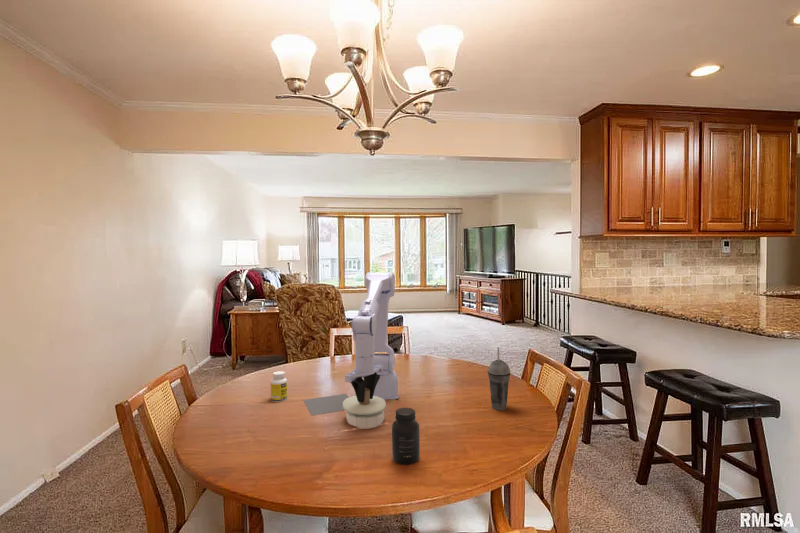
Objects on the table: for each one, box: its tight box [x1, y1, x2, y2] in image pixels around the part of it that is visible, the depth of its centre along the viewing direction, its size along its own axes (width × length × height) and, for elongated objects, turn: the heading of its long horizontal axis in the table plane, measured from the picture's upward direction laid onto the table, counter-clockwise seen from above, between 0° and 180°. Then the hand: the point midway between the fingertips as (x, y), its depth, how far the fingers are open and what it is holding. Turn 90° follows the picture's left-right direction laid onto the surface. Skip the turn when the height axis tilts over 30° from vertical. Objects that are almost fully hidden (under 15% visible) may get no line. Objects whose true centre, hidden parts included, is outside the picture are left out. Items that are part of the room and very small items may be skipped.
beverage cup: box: [487, 347, 512, 411], centre depth 133 cm, size 7×7×20 cm
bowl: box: [346, 409, 385, 430], centre depth 124 cm, size 11×11×3 cm
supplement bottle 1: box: [270, 370, 288, 403], centre depth 142 cm, size 5×5×10 cm
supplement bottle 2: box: [391, 407, 421, 466], centre depth 101 cm, size 7×7×12 cm
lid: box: [343, 387, 387, 415], centre depth 124 cm, size 13×13×5 cm
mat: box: [303, 393, 350, 416], centre depth 137 cm, size 15×15×1 cm
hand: (365, 400), depth 124 cm, fingers closed on lid, 3 cm apart
